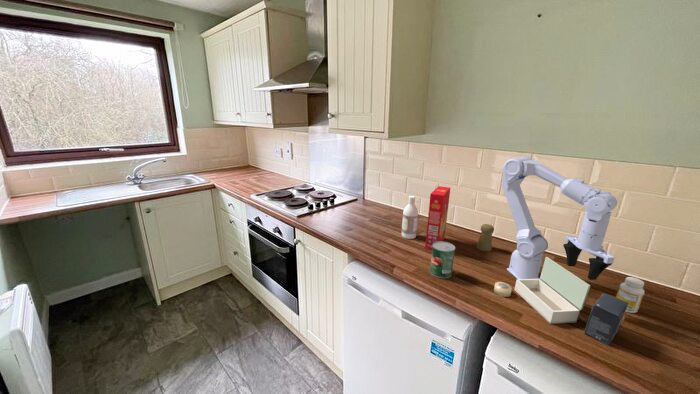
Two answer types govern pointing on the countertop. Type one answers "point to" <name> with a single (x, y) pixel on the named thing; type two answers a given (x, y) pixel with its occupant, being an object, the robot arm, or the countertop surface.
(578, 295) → the lid
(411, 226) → the bath foam
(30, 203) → the countertop surface
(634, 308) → the supplement bottle
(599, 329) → the box
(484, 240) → the olive pepper mill
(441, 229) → the food packaging
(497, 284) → the cream domed disc
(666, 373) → the countertop surface
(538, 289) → the keepsake box
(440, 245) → the canned tomato
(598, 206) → the robot arm
